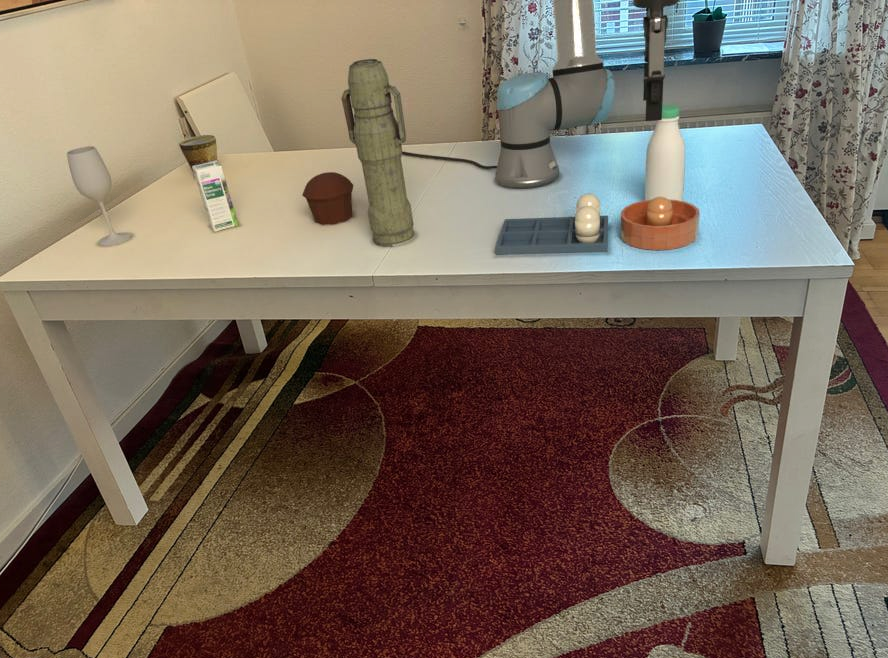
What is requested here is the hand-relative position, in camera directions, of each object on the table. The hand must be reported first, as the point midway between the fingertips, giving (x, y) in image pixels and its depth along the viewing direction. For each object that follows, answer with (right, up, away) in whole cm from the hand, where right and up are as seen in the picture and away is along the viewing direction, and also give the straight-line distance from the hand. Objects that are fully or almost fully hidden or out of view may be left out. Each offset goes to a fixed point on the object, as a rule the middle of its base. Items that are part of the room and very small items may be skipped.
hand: (652, 109), depth 133 cm
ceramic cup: (-109, +7, +77) cm, 133 cm away
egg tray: (-17, -22, +11) cm, 30 cm away
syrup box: (-90, -14, +38) cm, 99 cm away
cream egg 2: (-11, -23, +7) cm, 27 cm away
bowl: (+3, -22, +7) cm, 23 cm away
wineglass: (-116, -18, +38) cm, 123 cm away
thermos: (-49, -20, +21) cm, 57 cm away
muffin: (-64, -13, +35) cm, 74 cm away
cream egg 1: (-9, -20, +12) cm, 25 cm away
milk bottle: (+8, -13, +21) cm, 26 cm away
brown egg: (+3, -22, +7) cm, 23 cm away
